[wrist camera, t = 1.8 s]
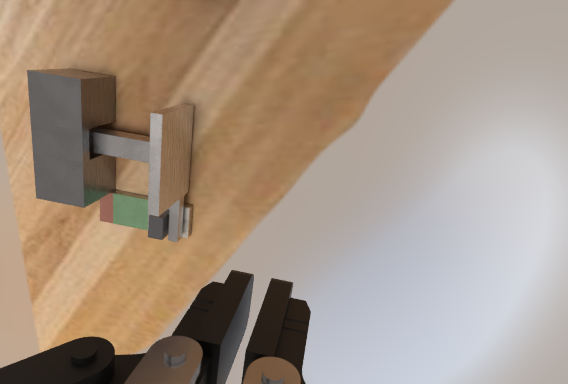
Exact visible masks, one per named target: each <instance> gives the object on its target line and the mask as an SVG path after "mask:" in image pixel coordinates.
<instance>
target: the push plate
mask: <svg viewBox="0 0 568 384" xmlns="http://www.w3.org/2000/svg"><path fill="white" fill-rule="evenodd" d="M193 111H194V105H189V104H181V105H177V106H174V107H170V108H167V109H163V110H159V111H156V112H152V113H151V120H150V136H144V135H138V134H133V133H127V132H121V131H116V130H110V129H104V128H99V127H94V128H90V129H89V152H93V153H99V154H104V155H109V156H115V157H120V158H126V159H131V160H137V161H142V162H148V163H149V192H148V214H149V215H154V216H160V215H161V214H162V213H163V212H165V211H166V210H167V209H168V208H169V207H170V209H169V231H168V240H169V241H174V242H178V241H179V240H180V239H181V238H182V225H183V209H184V195H185V194H186V193H187V192H188V190H189V174H190V158H191V142H192V127H193Z"/></svg>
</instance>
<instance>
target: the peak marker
mask: <svg viewBox="0 0 568 384" xmlns="http://www.w3.org/2000/svg"><path fill="white" fill-rule="evenodd" d="M168 231H169V209H167V210H166V211H165V212H163V213H162V214H161V215H160V216H154V215H149V222H148V237H150V238H155V239H160V240H162V239H164V238H165V237H166V236H167V235H168Z"/></svg>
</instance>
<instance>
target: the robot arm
mask: <svg viewBox="0 0 568 384" xmlns="http://www.w3.org/2000/svg"><path fill="white" fill-rule="evenodd" d="M253 281H254V275H253V274H249V273H244V272H240V271H234V270H232V271H231V272H230V274H229V276H228V278H227V280H226V281H225V283H224V284H223V283H218V282H212V283H210V284H208V285H207V286H205V287H204V288H202V289H201V290H200V292H199V294H198V295H197V297H196V298H195V300H194V301H193V303H192V305H191V306H190V309H188V311H187V312H186V314H185V315H184V317H183V319H182V320H181V322H180V323H179V325H178V326H177V328H176V330H175V331H174V332H173V334H172V336H170V337H166V338H163V339H161V340H159V341H157V342H156V343H154V344H153V345H152V346H151V347H150V349H149V350H148V351H147V353H143V354H132V355H115V350H114V347H113V345H112V344H111V343H110V342H109V341H108V340H106V339H103V338H100V337H83V338H78V339H75V340H72V341H70V342H67V343H65V344H62V345H60V346H57V347H54V348H52V349H49V350H47V351H44V352H41V353H39V354H36V355H34V356H31V357H29V358H26V359H24V360H21V361H18V362H16V363H13V364H10V365H8V366H5V367H3V368H0V384H225V383H226V380H227V377H228V375H229V372H230V370H231V367H232V364H233V362H234V359H235V357H236V354H237V351H238V349H239V346H240V343H241V341H242V338H243V336H244V333H245V330H246V326H247V322H248V317H249V311H250V303H251V296H252V288H253ZM292 287H293V282H288V281H283V280H279V279H274V278H272V279H271V281H270V284H269V287H268V290H267V293H266V295H265V298H264V301H263V304H262V307H261V309H260V312H259V315H258V318H257V321H256V323H255V326H254V329H253V332H252V335H251V337H250V341H249V343H248V346H247V349H246V353H245V361H244V368H243V377H242V383H241V384H305V382H304V380H303V376H302V365H303V359H304V352H305V345H306V339H307V333H308V326H309V320H310V313H311V312H310V309H309V307H308V305H307V303H306V301H304V300H299V299H294V298H291V293H292Z"/></svg>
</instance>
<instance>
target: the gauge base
mask: <svg viewBox="0 0 568 384" xmlns="http://www.w3.org/2000/svg"><path fill="white" fill-rule="evenodd" d="M27 74H28V88H29V102H30V116H31V130H32V144H33V158H34V172H35V186H36V198H38V199H43V200H48V201H53V202H58V203H63V204H68V205H73V206H79V207H84V208H85V207H86V206H88V205H90V204H92V203H93V202H95V201H97V200H99V199H100V221H104V222H109V223H114V224H119V225H124V226H129V227H134V228H139V229H144V230H148V222H149V214H148V196H144V195H139V194H134V193H129V192H123V191H118V190H116V157H115V156H109V155H104V154H99V153H93V152H89V129H90V128H94V127H97V126H101V125H105V124H108V123H112V122H116V100H115V76H110V75H104V74H98V73H92V72H86V71H80V70H73V69H48V70H27ZM168 209H170V207H169V208H168ZM192 213H193V205H191V204H186V203H184V209H183V225H182V237H184V238H188V237H189V236H190V235H191V228H192Z"/></svg>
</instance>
